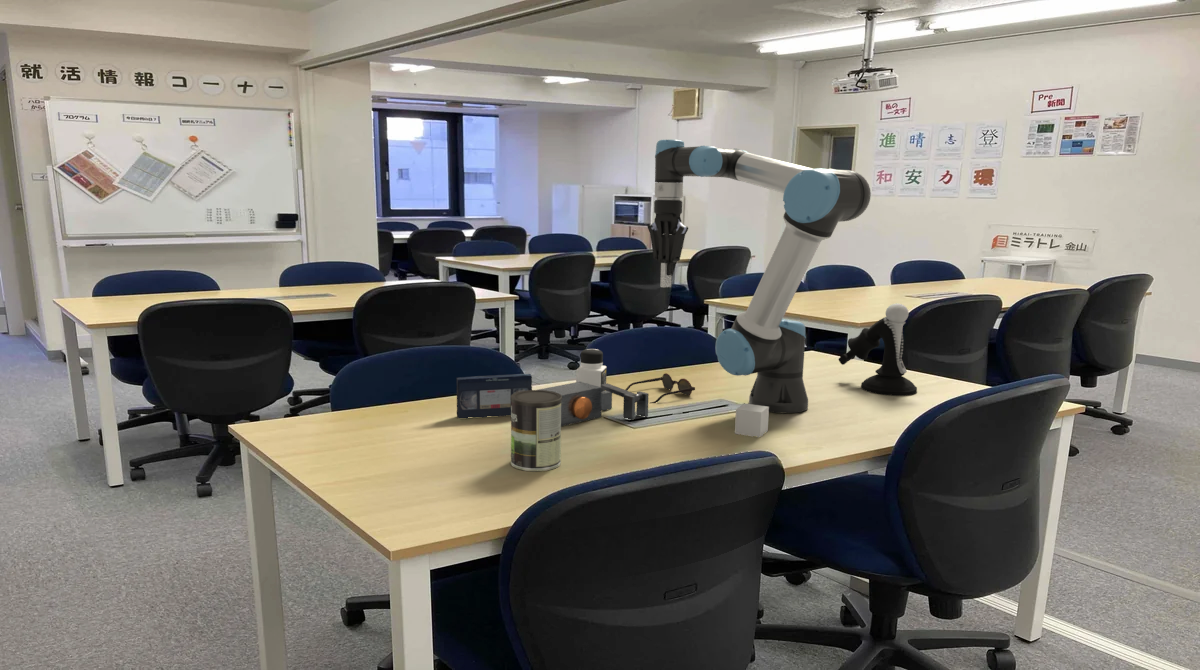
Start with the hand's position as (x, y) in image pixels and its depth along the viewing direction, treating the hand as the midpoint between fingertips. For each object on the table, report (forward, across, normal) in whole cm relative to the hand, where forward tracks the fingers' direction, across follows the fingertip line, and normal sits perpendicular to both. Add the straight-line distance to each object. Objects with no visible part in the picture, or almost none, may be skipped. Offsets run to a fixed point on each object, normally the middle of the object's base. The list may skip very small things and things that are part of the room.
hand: (665, 286), depth 223 cm
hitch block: (+29, +4, -38) cm, 48 cm away
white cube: (+30, +40, -13) cm, 51 cm away
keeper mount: (+29, +9, -25) cm, 40 cm away
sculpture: (+30, +35, +53) cm, 70 cm away
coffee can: (+30, +25, -65) cm, 76 cm away
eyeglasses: (+30, +1, -4) cm, 30 cm away
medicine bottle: (+30, -12, -16) cm, 36 cm away
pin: (+28, +3, -38) cm, 47 cm away
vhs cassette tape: (+30, -10, -50) cm, 59 cm away
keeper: (+25, +9, -25) cm, 36 cm away
